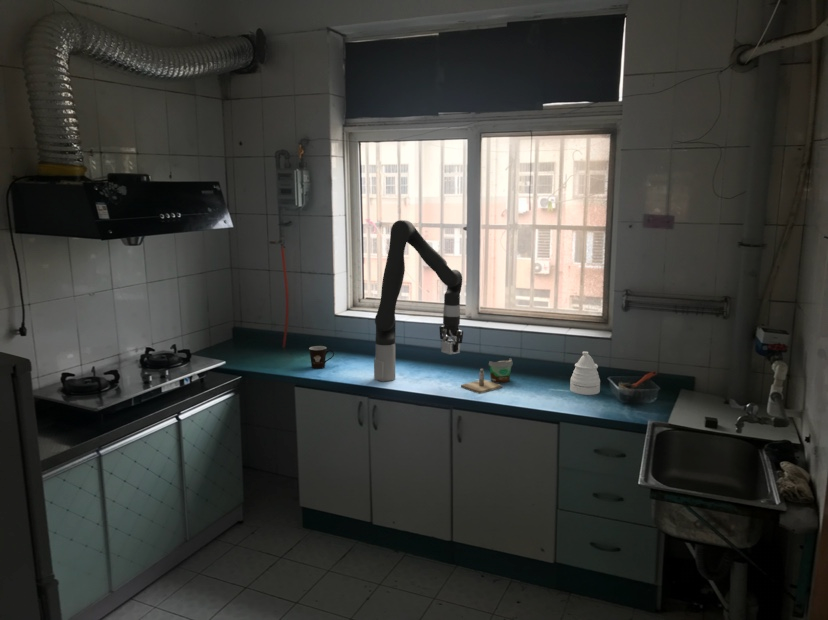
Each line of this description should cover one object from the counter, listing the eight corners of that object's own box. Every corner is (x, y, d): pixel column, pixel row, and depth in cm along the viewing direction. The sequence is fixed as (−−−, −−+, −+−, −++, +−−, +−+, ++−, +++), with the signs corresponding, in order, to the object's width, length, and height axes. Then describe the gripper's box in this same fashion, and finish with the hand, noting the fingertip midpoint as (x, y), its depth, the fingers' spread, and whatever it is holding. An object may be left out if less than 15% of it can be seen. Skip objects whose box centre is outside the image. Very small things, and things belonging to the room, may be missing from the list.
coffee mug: (306, 368, 324) (305, 349, 322) (315, 364, 331) (314, 345, 330) (326, 371, 319) (326, 351, 317) (335, 366, 327) (334, 347, 325)
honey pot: (594, 396, 280) (597, 356, 277) (566, 391, 287) (567, 352, 284) (603, 388, 291) (605, 350, 288) (575, 384, 298) (577, 346, 294)
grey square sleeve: (449, 354, 290) (450, 343, 289) (441, 351, 295) (441, 341, 294) (459, 352, 294) (460, 342, 293) (451, 350, 299) (451, 339, 298)
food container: (495, 385, 296) (496, 364, 294) (488, 381, 302) (488, 361, 300) (517, 381, 302) (518, 360, 300) (509, 378, 307) (510, 357, 305)
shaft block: (479, 393, 284) (480, 374, 283) (461, 387, 294) (461, 368, 292) (501, 387, 293) (502, 369, 291) (483, 381, 302) (483, 363, 301)
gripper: (434, 312, 295) (434, 348, 298) (456, 317, 283) (455, 355, 287) (447, 311, 299) (446, 346, 302) (468, 316, 288) (467, 352, 291)
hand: (450, 350), depth 294 cm, fingers closed on grey square sleeve, 6 cm apart
